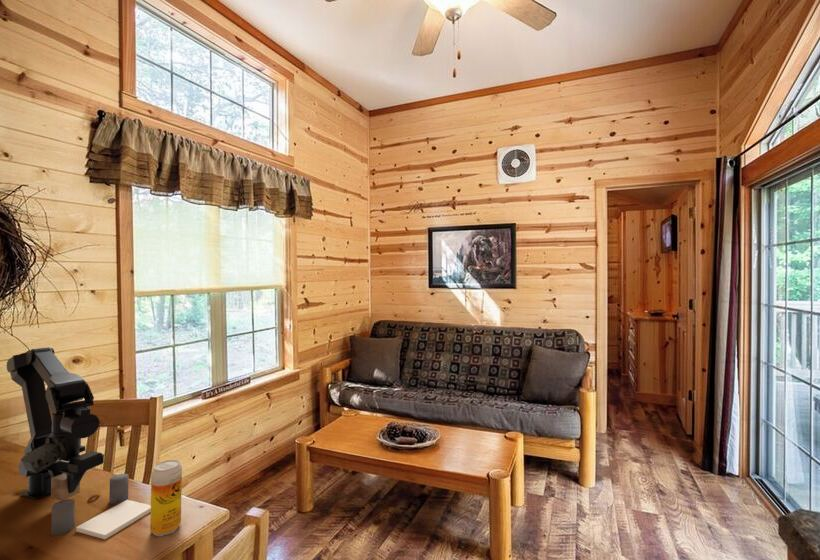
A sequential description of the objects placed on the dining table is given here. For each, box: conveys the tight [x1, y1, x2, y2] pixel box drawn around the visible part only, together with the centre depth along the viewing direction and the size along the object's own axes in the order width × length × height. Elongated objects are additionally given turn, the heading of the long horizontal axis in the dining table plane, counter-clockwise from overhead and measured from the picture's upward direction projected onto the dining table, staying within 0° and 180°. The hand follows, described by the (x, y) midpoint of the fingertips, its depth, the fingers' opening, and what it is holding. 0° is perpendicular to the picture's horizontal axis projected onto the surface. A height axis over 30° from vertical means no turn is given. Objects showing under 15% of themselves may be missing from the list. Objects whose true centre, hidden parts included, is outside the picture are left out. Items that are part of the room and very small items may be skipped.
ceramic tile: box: [75, 499, 151, 540], centre depth 95 cm, size 9×12×1 cm
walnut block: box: [50, 473, 81, 501], centre depth 100 cm, size 4×4×5 cm
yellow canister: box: [149, 459, 183, 537], centre depth 92 cm, size 6×6×15 cm
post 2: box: [108, 473, 130, 506], centre depth 104 cm, size 4×4×6 cm
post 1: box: [50, 498, 76, 536], centre depth 91 cm, size 4×4×6 cm
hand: (65, 491), depth 100 cm, fingers closed on walnut block, 4 cm apart
